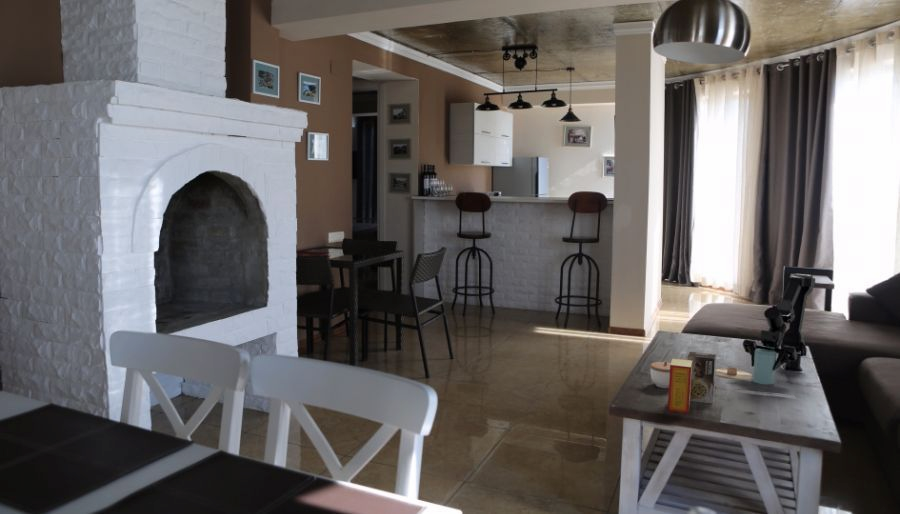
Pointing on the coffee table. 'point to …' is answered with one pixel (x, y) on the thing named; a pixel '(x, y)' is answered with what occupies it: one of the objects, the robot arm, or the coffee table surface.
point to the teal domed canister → (764, 366)
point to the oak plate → (740, 375)
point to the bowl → (732, 370)
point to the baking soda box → (680, 385)
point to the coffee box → (702, 377)
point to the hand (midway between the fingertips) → (762, 368)
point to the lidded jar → (660, 373)
